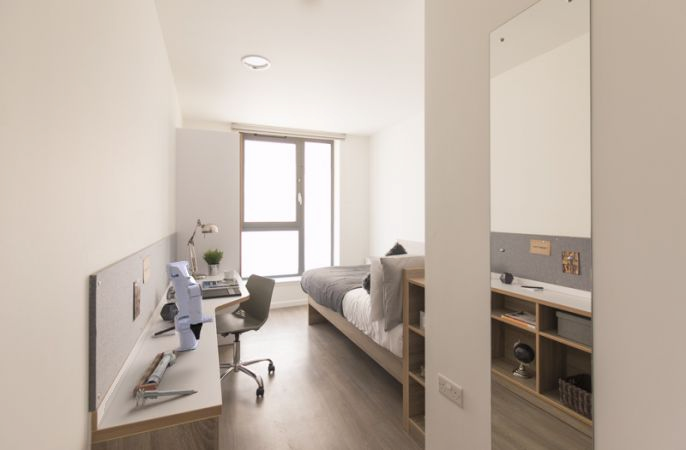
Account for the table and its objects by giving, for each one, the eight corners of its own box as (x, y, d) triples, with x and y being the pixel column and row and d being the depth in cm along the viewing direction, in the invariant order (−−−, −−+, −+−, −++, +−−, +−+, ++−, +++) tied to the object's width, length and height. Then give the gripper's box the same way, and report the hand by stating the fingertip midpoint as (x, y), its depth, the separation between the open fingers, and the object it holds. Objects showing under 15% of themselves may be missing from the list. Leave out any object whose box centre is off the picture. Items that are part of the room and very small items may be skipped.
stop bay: (158, 358, 160) (157, 352, 160) (175, 356, 162) (175, 350, 161) (134, 395, 129) (133, 388, 129) (155, 391, 131) (154, 384, 130)
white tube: (143, 381, 132) (163, 346, 156) (145, 396, 133) (165, 359, 157) (157, 379, 133) (175, 345, 157) (159, 394, 134) (177, 358, 158)
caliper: (136, 407, 121) (134, 391, 121) (137, 406, 122) (135, 389, 122) (197, 392, 129) (196, 377, 128) (197, 391, 130) (196, 375, 129)
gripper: (176, 315, 150) (179, 344, 151) (210, 311, 154) (213, 339, 155) (179, 310, 157) (182, 338, 158) (212, 306, 161) (215, 334, 162)
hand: (197, 339), depth 157 cm, fingers closed
